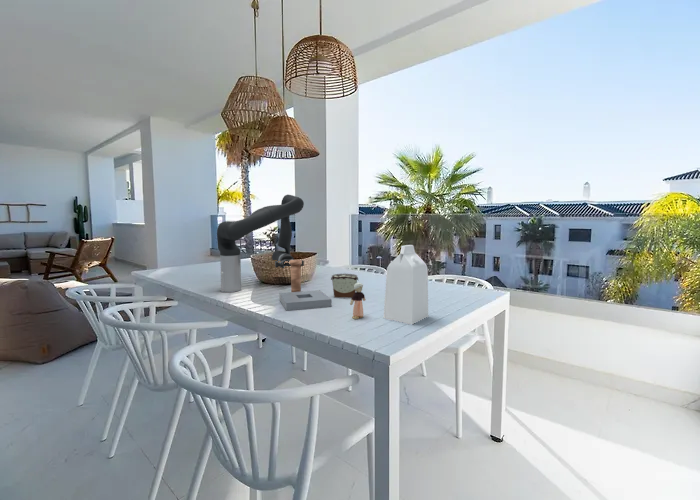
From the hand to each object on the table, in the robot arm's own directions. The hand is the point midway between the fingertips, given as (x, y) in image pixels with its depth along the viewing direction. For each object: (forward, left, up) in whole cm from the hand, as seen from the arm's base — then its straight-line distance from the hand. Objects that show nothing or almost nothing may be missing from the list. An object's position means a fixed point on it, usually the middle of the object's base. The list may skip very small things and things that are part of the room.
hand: (291, 265), depth 173 cm
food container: (+20, -23, -12) cm, 33 cm away
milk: (+30, -61, -12) cm, 69 cm away
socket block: (0, -29, -12) cm, 31 cm away
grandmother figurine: (+14, -55, -12) cm, 58 cm away
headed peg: (0, -11, -12) cm, 16 cm away
